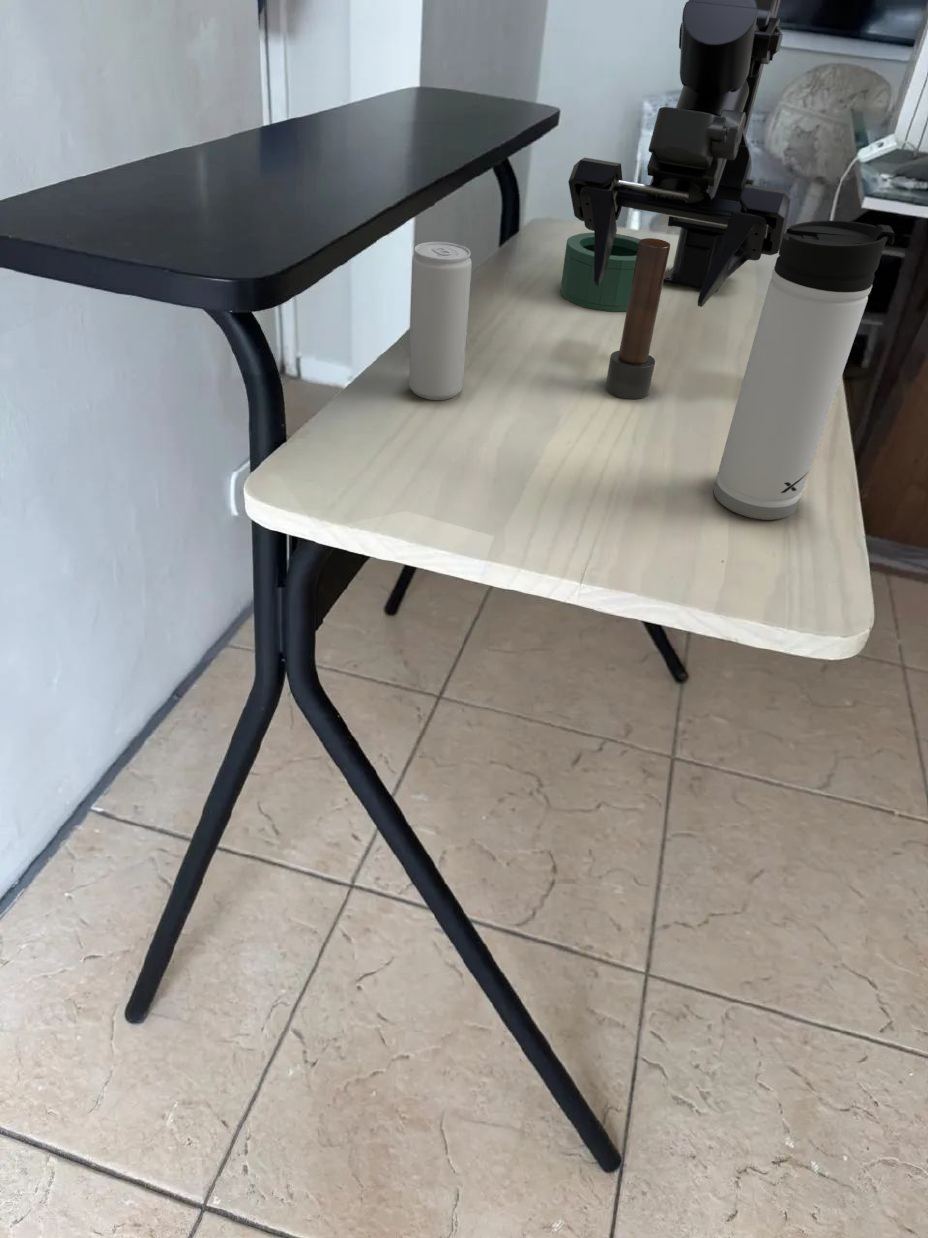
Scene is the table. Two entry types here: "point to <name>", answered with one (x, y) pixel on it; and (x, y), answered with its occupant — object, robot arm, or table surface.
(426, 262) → the beverage can
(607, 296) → the jar
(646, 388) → the brush
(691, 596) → the table surface
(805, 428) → the travel mug
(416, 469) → the table surface
